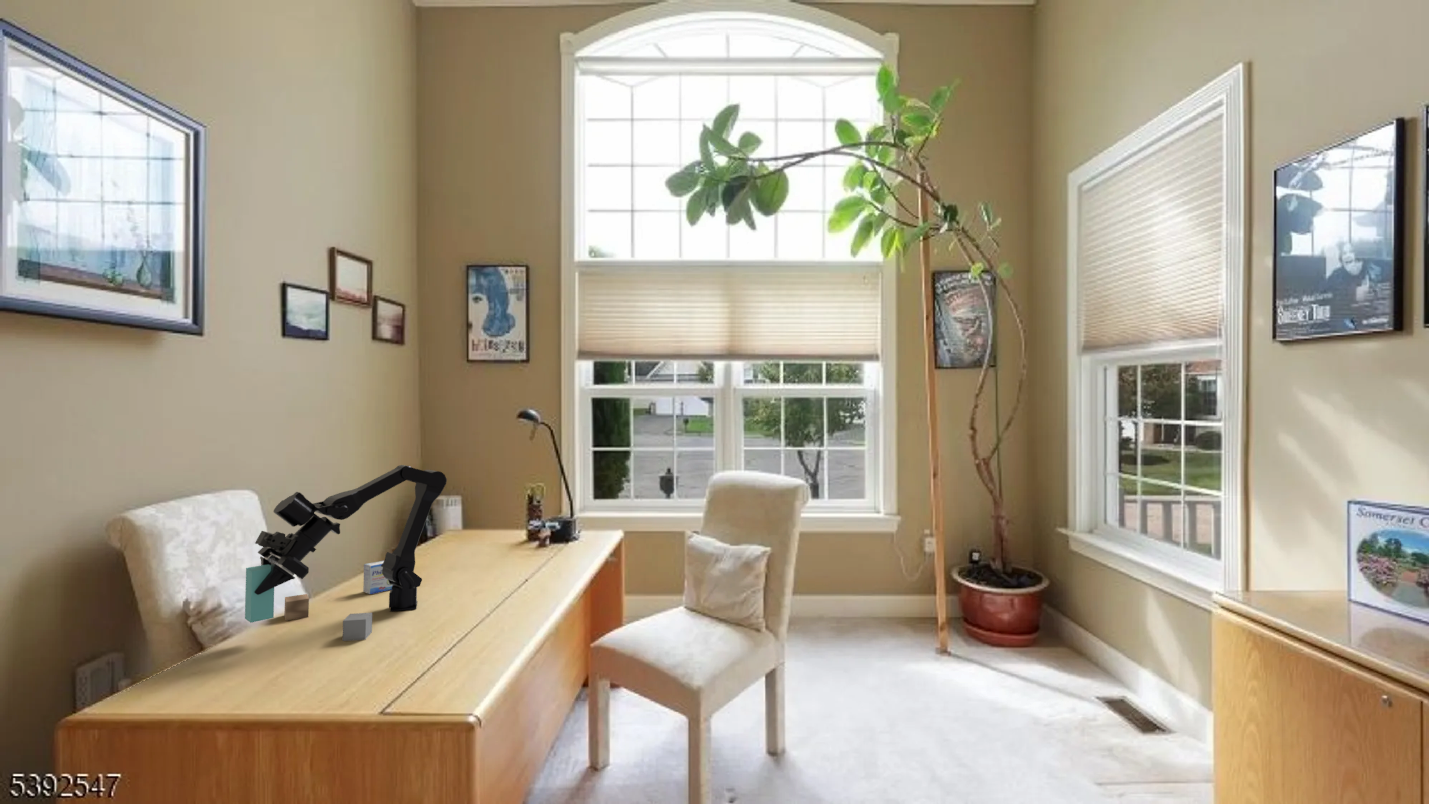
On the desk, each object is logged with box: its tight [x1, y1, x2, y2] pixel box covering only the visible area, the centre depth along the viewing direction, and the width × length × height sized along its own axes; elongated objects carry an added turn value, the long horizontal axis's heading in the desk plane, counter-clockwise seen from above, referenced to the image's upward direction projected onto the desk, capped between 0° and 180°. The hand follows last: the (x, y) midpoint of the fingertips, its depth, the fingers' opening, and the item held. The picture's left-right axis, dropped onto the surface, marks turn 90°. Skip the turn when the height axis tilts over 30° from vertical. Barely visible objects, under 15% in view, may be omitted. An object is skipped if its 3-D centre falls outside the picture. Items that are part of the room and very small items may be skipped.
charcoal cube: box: [342, 612, 373, 642], centre depth 150 cm, size 5×5×5 cm
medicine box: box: [363, 560, 393, 595], centre depth 187 cm, size 8×4×9 cm, turn 143°
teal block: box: [244, 564, 275, 624], centre depth 145 cm, size 4×4×12 cm
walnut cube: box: [284, 593, 310, 621], centre depth 164 cm, size 5×5×5 cm
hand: (252, 591), depth 144 cm, fingers closed on teal block, 4 cm apart
